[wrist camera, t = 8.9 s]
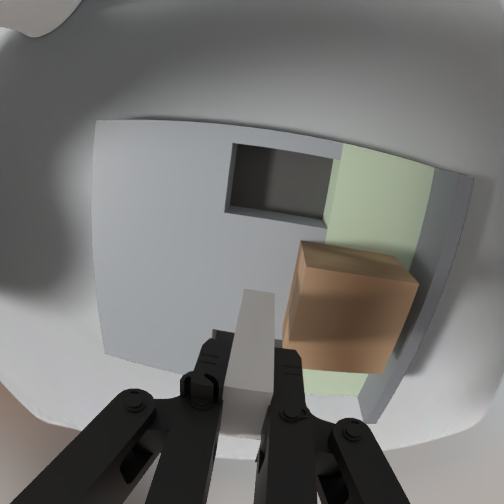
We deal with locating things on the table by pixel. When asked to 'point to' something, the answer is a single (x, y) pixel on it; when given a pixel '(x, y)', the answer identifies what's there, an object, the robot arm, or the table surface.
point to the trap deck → (254, 235)
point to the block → (346, 308)
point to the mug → (35, 15)
